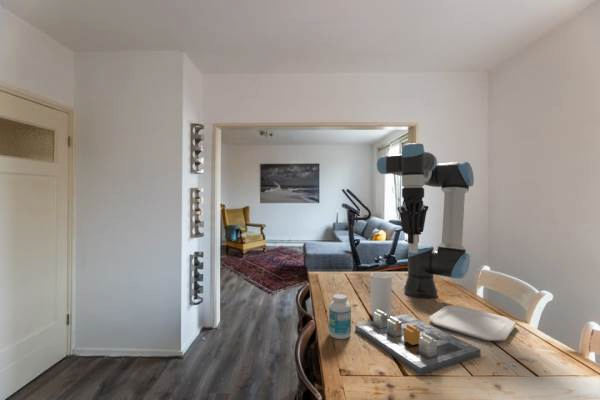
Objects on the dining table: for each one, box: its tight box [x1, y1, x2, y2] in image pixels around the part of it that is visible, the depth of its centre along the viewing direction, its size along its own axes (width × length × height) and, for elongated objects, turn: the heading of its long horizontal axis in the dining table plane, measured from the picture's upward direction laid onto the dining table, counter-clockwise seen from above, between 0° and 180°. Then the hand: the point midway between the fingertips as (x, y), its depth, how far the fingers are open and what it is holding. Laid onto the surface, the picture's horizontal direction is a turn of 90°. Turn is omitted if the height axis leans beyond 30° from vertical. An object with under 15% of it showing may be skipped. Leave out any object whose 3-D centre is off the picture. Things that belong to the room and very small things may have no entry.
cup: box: [370, 272, 393, 318], centre depth 122 cm, size 8×8×16 cm
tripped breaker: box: [404, 324, 420, 345], centre depth 94 cm, size 3×4×5 cm
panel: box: [354, 309, 481, 377], centre depth 99 cm, size 24×30×7 cm
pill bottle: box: [328, 293, 352, 340], centre depth 104 cm, size 8×7×14 cm
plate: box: [428, 305, 517, 342], centre depth 112 cm, size 25×25×2 cm
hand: (413, 252), depth 109 cm, fingers closed
